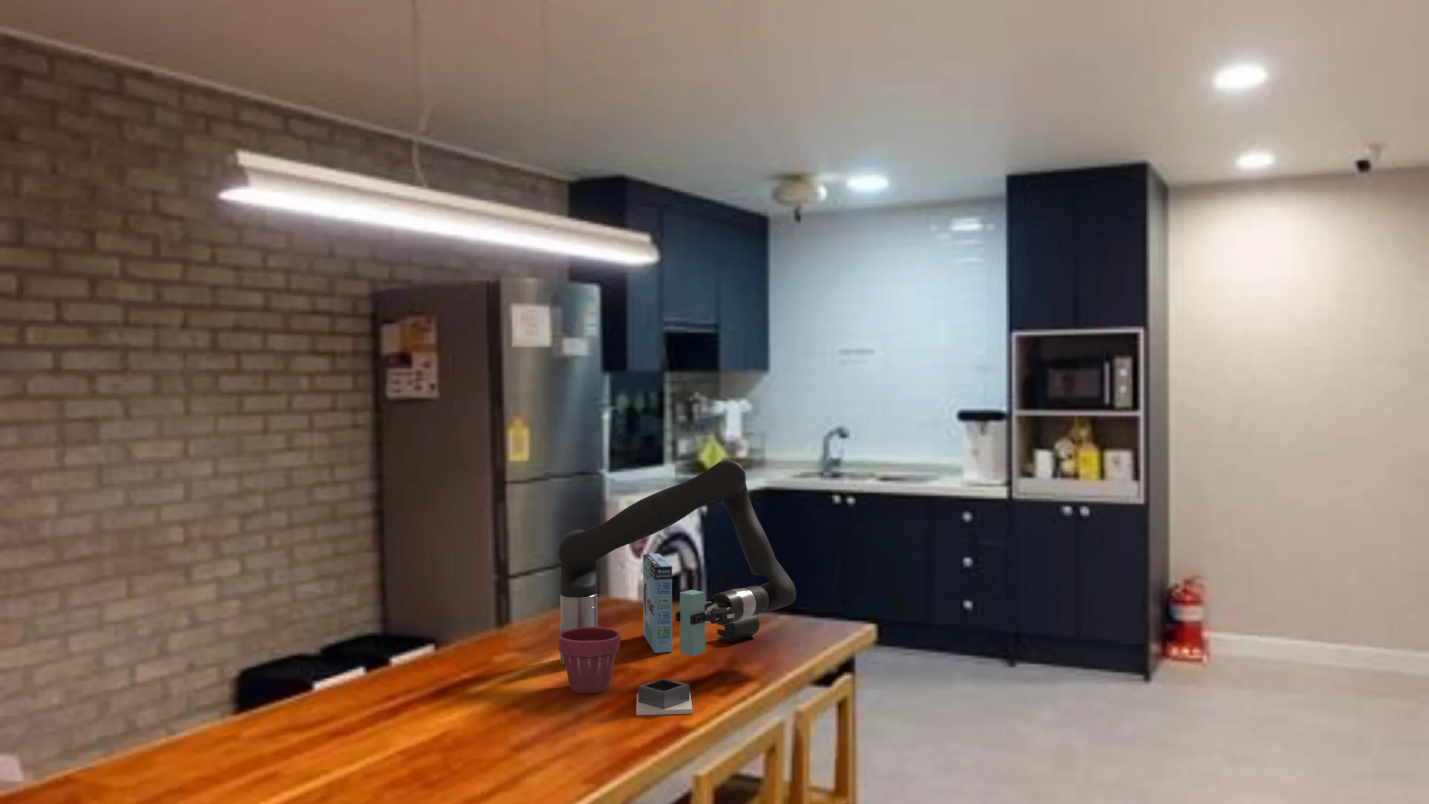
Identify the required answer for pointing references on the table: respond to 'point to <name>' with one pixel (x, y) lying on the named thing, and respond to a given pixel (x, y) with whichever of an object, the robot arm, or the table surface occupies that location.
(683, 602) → the teal peg
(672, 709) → the base board
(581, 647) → the plant pot
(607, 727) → the table surface
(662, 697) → the metal collar
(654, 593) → the light blue cardboard box
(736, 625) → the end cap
